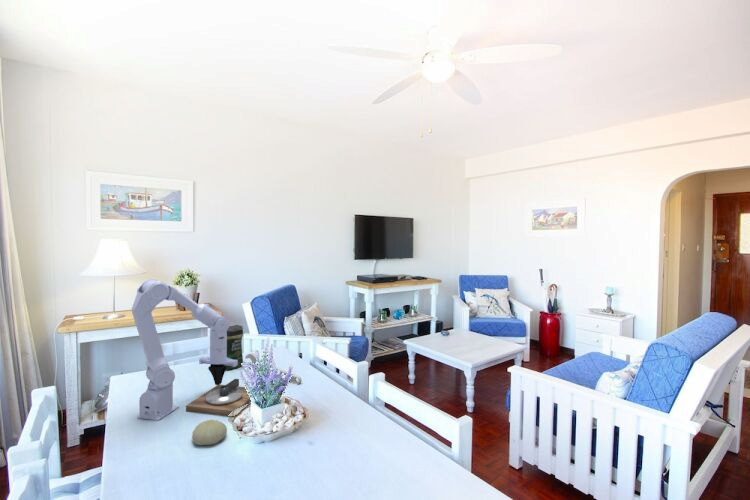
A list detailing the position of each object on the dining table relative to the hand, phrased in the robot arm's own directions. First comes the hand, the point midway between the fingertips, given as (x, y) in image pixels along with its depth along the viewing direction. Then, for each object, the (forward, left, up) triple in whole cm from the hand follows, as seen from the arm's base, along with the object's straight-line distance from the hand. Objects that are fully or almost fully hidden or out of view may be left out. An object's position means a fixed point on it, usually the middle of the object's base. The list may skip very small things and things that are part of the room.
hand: (218, 383), depth 135 cm
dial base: (-6, -6, -4) cm, 10 cm away
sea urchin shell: (-27, -15, -4) cm, 31 cm away
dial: (-5, -6, -2) cm, 8 cm away
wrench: (+20, -12, -4) cm, 24 cm away
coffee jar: (+27, +12, -4) cm, 30 cm away
